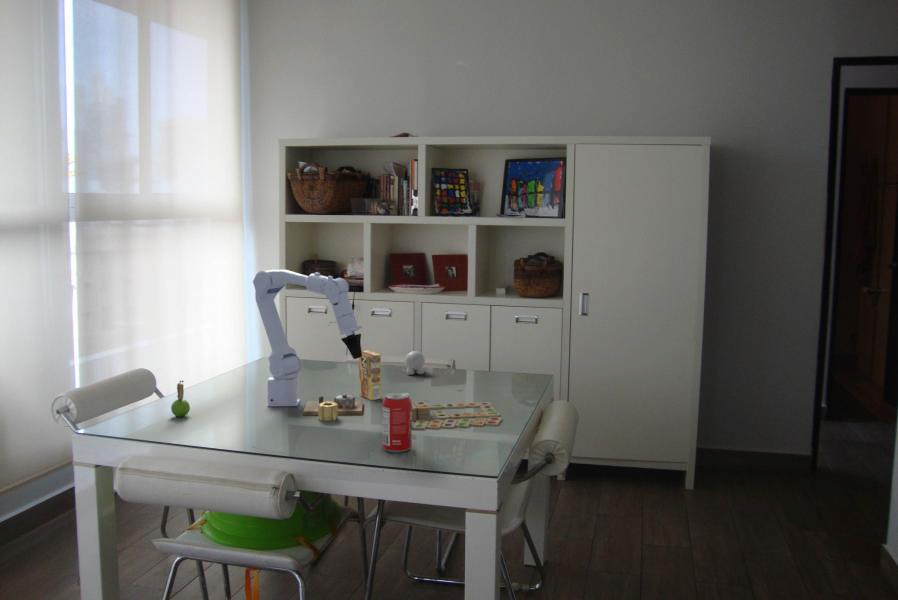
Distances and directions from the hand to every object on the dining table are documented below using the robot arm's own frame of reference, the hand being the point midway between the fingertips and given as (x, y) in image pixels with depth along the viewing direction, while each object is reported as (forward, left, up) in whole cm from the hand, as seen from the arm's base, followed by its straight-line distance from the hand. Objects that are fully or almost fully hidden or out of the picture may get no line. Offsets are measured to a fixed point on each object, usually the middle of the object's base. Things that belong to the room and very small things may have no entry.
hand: (358, 358), depth 257 cm
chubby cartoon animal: (+19, +61, -18) cm, 66 cm away
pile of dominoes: (+27, -4, -19) cm, 33 cm away
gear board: (-8, +6, -18) cm, 20 cm away
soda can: (+12, -37, -18) cm, 43 cm away
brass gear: (-9, -5, -18) cm, 21 cm away
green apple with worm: (-54, -1, -18) cm, 57 cm away
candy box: (+3, +22, -18) cm, 29 cm away
